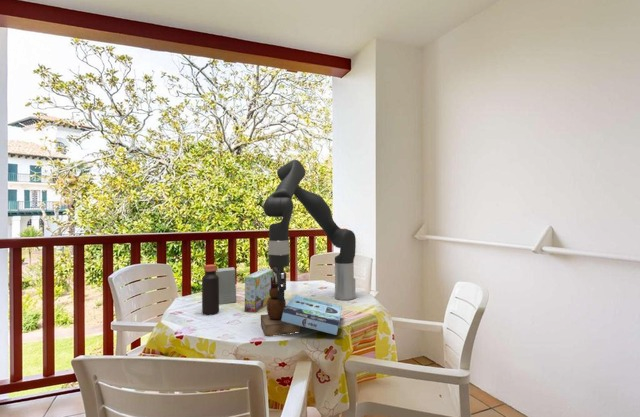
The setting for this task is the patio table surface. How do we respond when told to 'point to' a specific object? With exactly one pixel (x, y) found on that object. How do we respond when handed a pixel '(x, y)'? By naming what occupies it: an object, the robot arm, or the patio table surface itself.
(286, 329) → the walnut stand
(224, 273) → the skincare box
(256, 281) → the snack box
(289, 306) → the gum box
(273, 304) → the wooden figurine
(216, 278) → the bottle
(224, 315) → the patio table surface
